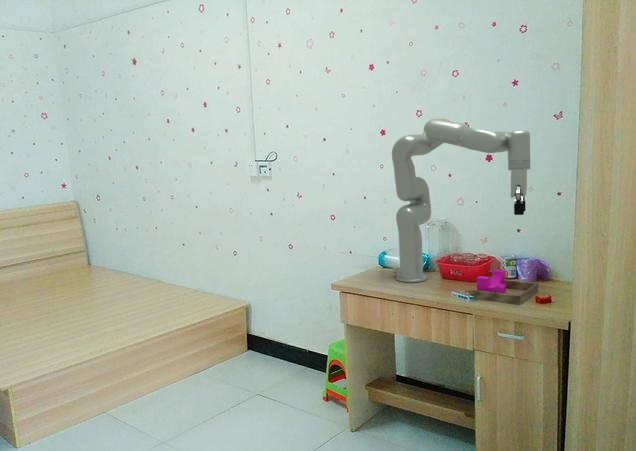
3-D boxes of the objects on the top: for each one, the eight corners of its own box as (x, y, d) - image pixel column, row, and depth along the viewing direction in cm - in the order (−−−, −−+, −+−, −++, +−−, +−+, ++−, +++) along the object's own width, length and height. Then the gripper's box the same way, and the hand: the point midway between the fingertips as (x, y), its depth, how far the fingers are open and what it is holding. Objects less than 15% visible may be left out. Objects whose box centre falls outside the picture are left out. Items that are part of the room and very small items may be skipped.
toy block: (492, 300, 200) (492, 279, 199) (476, 297, 204) (476, 277, 203) (511, 290, 211) (511, 271, 210) (495, 288, 215) (495, 269, 214)
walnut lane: (469, 297, 204) (469, 289, 203) (490, 285, 219) (490, 278, 219) (520, 305, 192) (520, 296, 192) (538, 291, 207) (538, 283, 207)
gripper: (510, 164, 209) (511, 210, 211) (505, 167, 193) (506, 216, 196) (531, 163, 206) (532, 209, 208) (529, 166, 190) (529, 216, 193)
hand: (519, 213), depth 202 cm, fingers open, 9 cm apart
